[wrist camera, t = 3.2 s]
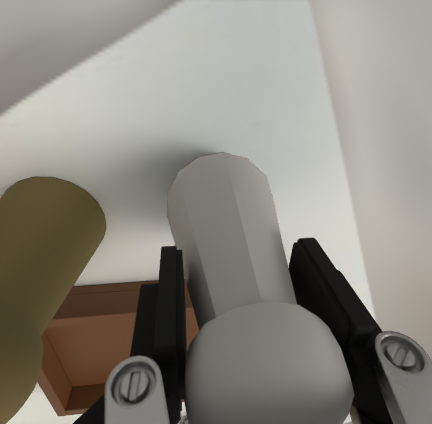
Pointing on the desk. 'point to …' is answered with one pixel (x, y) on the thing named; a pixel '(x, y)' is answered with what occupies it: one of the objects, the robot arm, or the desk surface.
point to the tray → (92, 343)
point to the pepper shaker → (38, 272)
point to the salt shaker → (248, 307)
